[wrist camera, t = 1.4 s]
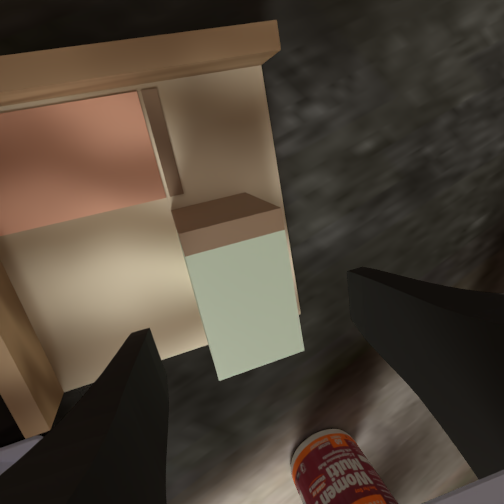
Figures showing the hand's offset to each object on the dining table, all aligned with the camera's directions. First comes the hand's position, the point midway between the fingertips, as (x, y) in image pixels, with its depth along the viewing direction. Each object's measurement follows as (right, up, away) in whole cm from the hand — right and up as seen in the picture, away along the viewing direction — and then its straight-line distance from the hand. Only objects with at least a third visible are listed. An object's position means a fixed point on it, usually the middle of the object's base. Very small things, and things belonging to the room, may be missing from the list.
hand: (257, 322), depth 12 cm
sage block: (-2, +2, +9) cm, 9 cm away
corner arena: (-7, +4, +8) cm, 11 cm away
